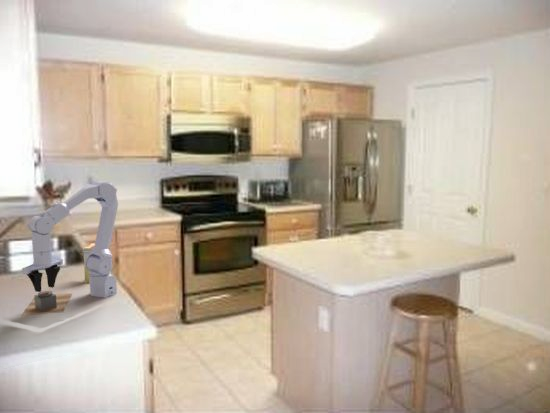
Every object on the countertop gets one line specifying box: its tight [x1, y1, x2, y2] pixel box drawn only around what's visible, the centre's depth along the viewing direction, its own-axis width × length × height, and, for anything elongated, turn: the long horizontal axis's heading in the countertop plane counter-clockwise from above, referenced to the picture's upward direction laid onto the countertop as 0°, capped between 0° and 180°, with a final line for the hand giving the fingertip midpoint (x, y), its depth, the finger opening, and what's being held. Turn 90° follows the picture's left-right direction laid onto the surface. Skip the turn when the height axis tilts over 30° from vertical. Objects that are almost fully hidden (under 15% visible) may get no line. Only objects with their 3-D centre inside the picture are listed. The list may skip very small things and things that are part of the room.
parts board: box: [20, 292, 73, 316], centre depth 168 cm, size 21×13×1 cm, turn 15°
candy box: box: [83, 242, 95, 285], centre depth 199 cm, size 9×4×15 cm, turn 179°
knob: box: [33, 290, 57, 312], centre depth 163 cm, size 5×5×5 cm
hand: (44, 289), depth 163 cm, fingers open, 5 cm apart
